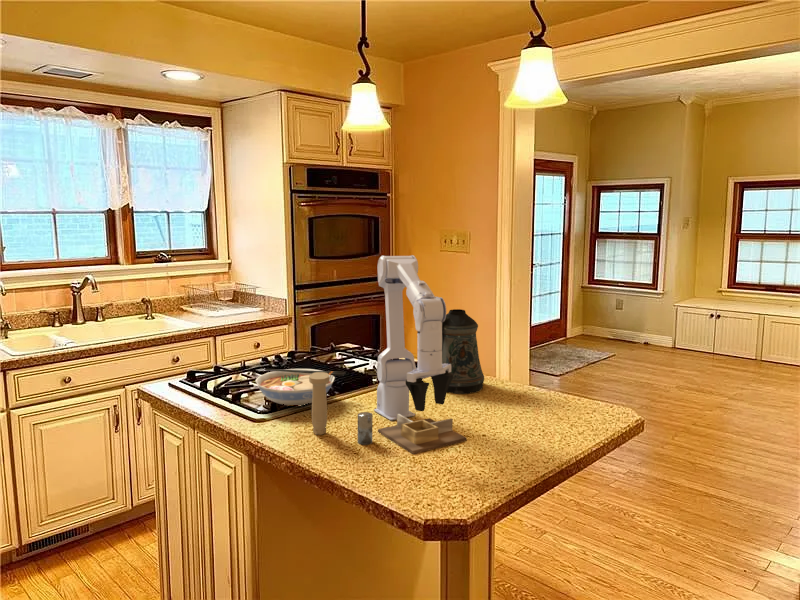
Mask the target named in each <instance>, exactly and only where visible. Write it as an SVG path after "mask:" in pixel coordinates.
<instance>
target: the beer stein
mask: <svg viewBox="0 0 800 600" xmlns="http://www.w3.org/2000/svg"><path fill="white" fill-rule="evenodd" d="M478 329H479V324H478V323H477V321H476V320H475V319H473V318H472V317H471V316H469V315H468V314H467V313H466V310H465V309H460V308H459V309H458V308H457V309H455V308H454V309H449V310H448V313H446V318H445V321H444V322H442V364H444V363H446V364H451V372H449V374H453V379H452V381H451V383H450V385H449V387H448V390H447V393H446V394H455V395H469V394H474V393H475V394H476V393H478V392H481V390H483V386H484V382H485V374H484V373H483V372H484V371H483V370H482V366H481V362H480V355H479V348H478V339H477V331H478Z"/></svg>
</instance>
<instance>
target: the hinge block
mask: <svg viewBox="0 0 800 600" xmlns="http://www.w3.org/2000/svg"><path fill="white" fill-rule="evenodd" d="M378 432H379V434H380V433H381V434H380V435H382V436H383V435H384V436H383V437H385V438H386V439H388V440H390V441H391V442H393V443H395V444H396V445H397V446H399V447H401V448H402V449H404V450H406V451H407V452H409V453H410V454H411V455H414V454H419V453H424V452H426V451H430V450H435V449H439V448H442V447H443V448H444V447H446V446H451V445H454V444H459V443H463V442H467V440H468V439H467V438H468V437H466V436H464V435H462V434H460V433H458V432H456V431H454V430H453V418H447V419H442V420H437V421H435V420H434V419H432V418H430V417H428V418H424V419H418V420H415V421H413V420H411V419H409V417H404V416H402V415H400V414H397V420H396V425H391V426H387V427H382V428H378V429H377V433H378Z"/></svg>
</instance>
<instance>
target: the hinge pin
mask: <svg viewBox="0 0 800 600" xmlns="http://www.w3.org/2000/svg"><path fill="white" fill-rule="evenodd" d="M373 418H374V417H373V413H372V412H369V411H365V412H364V411H363V412H358V413H357V444H358V445H361V446H369V445H372V444H373Z"/></svg>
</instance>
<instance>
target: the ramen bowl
mask: <svg viewBox="0 0 800 600" xmlns="http://www.w3.org/2000/svg"><path fill="white" fill-rule="evenodd" d="M264 371H268V372H266V373H264V374H261V375H259V376H258V377H257V378H256V379H255V383H256V385H257V386H258V387H257V388H258V389H259V391H260V392H261V393H262V394H263V396H264V397H265V398H266V399H268V400H270V401H271V400H272V401H271V402H274V403H276V404H279V405H283V404H284V405H283V406H285V405H304V404H307V405H308V403H309V404H312V395H313V384H312V383H310V382H309V376H310V374H312V373H315V372H325V373H328V374H329V382H328V383H327V384H326V394H327V393H328V392H329V391H330V389H331V388H332V386H333V383H334V381H335V379H336V377H335V376H338V377H339V376H340V377H343V376H344V375H346V371H331V370H329V371H328V370H326V371H325V370H321V369H313V368H288V369H287V368H286V369H279V368H278V369H275V368H265V369H264ZM269 371H270V372H269Z"/></svg>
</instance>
